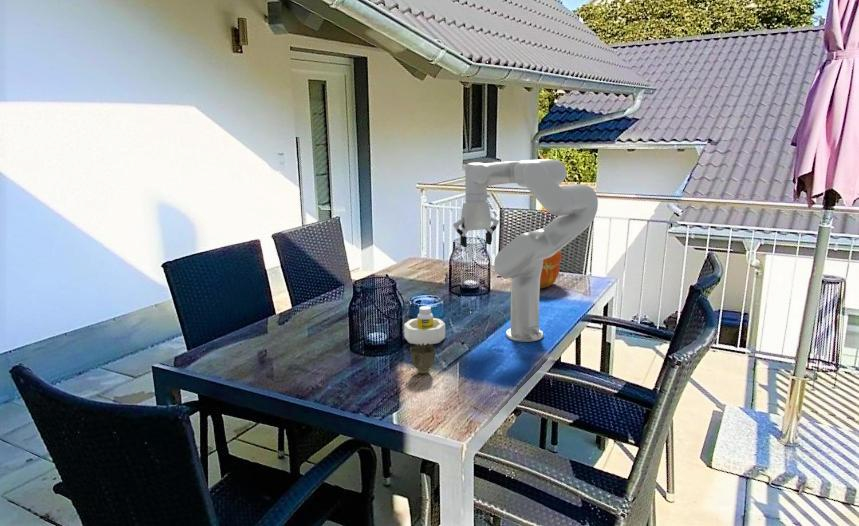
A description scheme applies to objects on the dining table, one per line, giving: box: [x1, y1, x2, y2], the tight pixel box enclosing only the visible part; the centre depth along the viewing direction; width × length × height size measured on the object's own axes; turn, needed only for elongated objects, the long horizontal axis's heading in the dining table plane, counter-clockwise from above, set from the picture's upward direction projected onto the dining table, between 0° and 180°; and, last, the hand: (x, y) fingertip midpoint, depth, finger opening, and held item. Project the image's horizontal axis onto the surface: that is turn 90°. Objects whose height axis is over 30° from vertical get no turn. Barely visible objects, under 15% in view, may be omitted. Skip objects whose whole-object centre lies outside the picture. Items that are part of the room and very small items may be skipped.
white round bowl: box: [403, 317, 446, 346], centre depth 203 cm, size 13×13×5 cm
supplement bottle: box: [416, 305, 434, 329], centre depth 202 cm, size 5×5×10 cm
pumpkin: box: [511, 250, 563, 289], centre depth 260 cm, size 23×23×20 cm
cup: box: [409, 343, 436, 375], centre depth 174 cm, size 8×7×8 cm
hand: (476, 245), depth 213 cm, fingers open, 9 cm apart
